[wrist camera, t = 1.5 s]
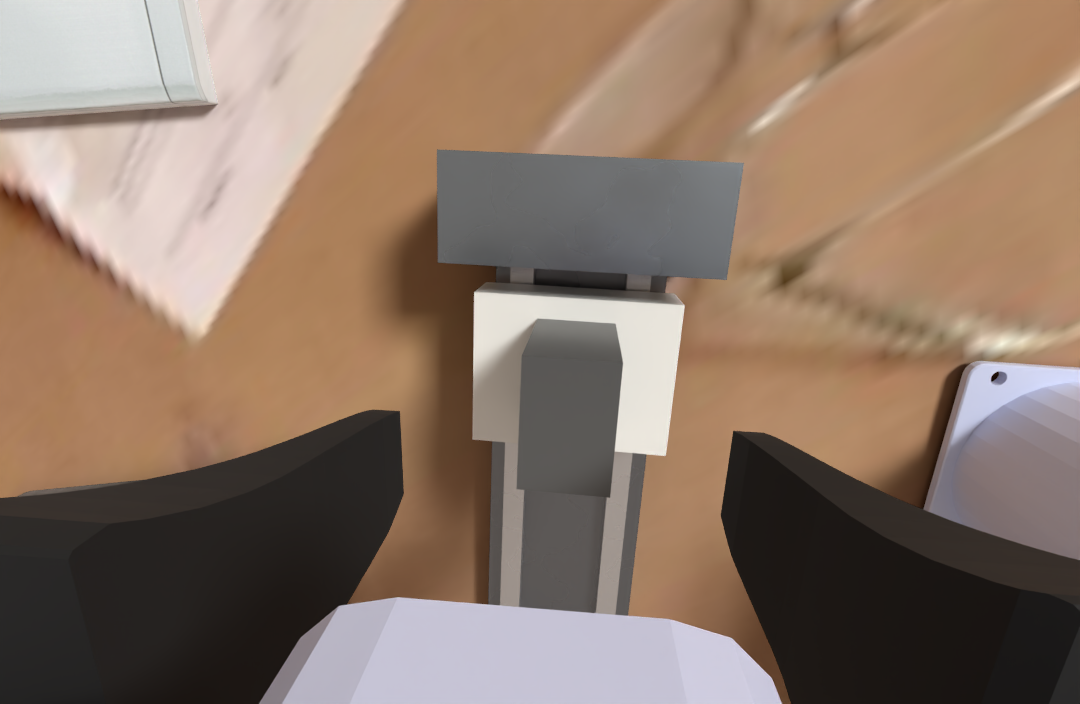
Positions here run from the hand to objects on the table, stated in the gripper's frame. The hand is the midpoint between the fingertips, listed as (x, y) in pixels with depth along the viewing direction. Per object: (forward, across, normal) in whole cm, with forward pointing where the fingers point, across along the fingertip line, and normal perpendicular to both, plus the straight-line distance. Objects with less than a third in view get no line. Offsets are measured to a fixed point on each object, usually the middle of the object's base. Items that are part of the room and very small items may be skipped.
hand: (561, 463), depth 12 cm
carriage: (+8, 0, 0) cm, 8 cm away
